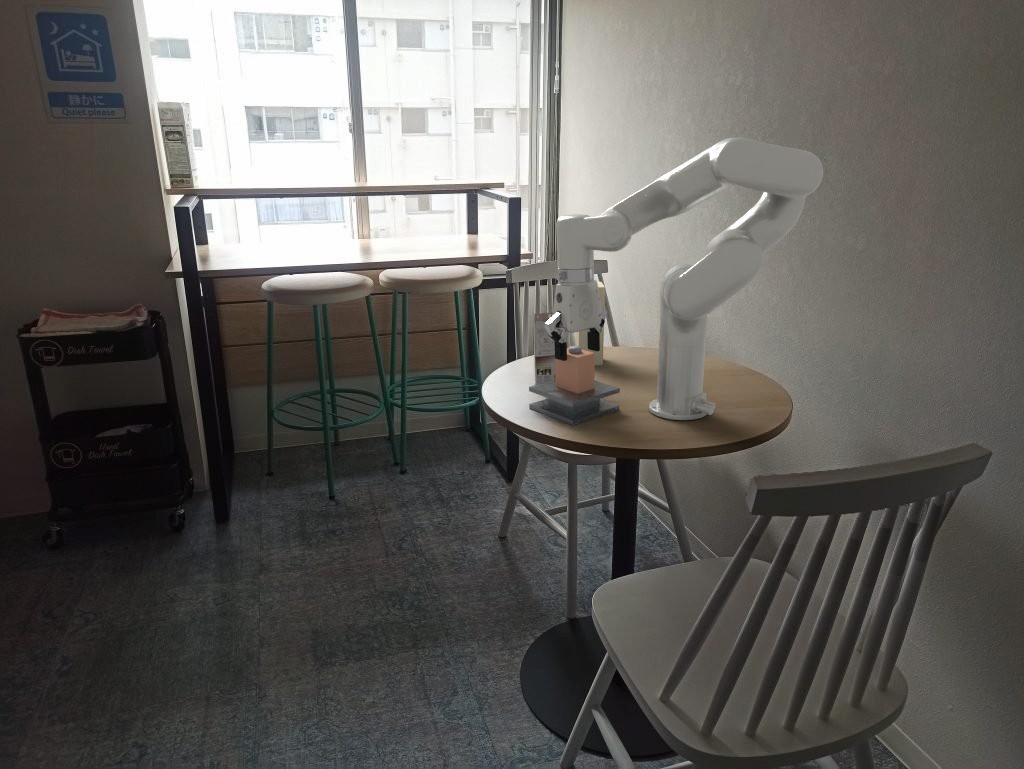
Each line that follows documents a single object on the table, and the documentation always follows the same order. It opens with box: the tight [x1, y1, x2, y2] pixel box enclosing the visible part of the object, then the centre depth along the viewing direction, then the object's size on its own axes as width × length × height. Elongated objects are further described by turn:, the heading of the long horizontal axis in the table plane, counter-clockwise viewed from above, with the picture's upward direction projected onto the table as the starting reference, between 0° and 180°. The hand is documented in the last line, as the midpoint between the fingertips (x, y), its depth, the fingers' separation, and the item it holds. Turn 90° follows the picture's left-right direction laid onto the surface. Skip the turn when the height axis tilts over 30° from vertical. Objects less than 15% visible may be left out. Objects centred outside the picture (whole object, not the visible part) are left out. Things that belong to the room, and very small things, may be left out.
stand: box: [528, 379, 621, 426], centre depth 159 cm, size 14×14×5 cm
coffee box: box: [533, 312, 562, 385], centre depth 178 cm, size 9×6×16 cm
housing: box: [555, 345, 596, 394], centre depth 157 cm, size 7×5×9 cm
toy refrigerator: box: [575, 281, 606, 366], centre depth 191 cm, size 8×7×21 cm
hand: (577, 354), depth 156 cm, fingers open, 9 cm apart
